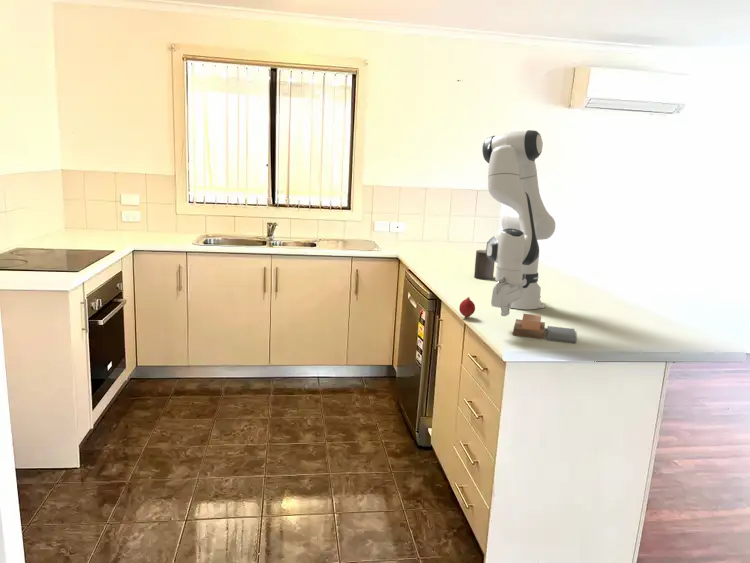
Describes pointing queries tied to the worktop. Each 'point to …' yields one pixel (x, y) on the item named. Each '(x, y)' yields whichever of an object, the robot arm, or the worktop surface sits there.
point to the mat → (561, 334)
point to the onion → (467, 307)
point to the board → (528, 330)
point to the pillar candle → (483, 266)
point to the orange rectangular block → (531, 322)
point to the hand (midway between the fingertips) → (504, 315)
